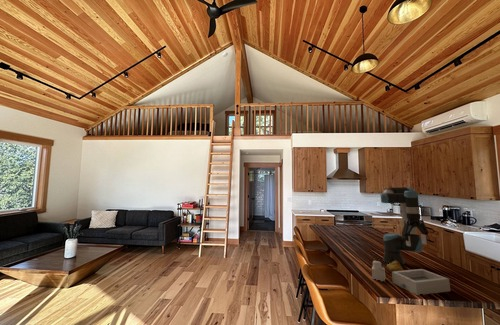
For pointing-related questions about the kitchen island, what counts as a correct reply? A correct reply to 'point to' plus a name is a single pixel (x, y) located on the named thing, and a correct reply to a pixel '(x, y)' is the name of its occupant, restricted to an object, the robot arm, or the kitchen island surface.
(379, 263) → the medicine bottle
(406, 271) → the grey rectangular tray
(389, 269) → the bread roll
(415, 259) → the kitchen island surface
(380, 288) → the kitchen island surface
